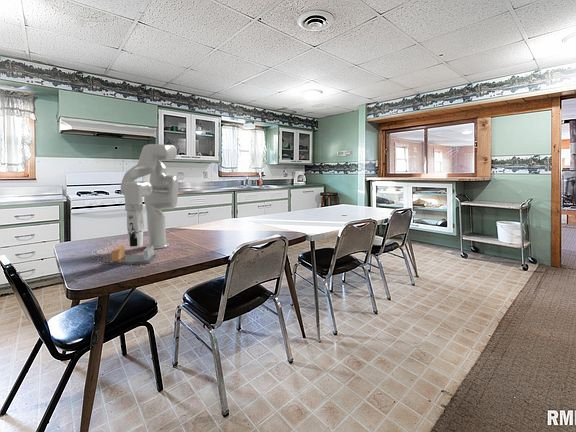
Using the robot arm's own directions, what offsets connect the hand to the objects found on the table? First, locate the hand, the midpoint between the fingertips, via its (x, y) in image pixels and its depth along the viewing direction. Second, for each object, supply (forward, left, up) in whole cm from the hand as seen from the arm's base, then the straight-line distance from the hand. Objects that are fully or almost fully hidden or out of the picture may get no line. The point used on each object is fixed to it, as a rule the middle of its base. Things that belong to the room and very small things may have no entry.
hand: (136, 244), depth 150 cm
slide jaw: (-4, -7, -7) cm, 11 cm away
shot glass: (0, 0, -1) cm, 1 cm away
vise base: (-1, -1, -8) cm, 8 cm away
